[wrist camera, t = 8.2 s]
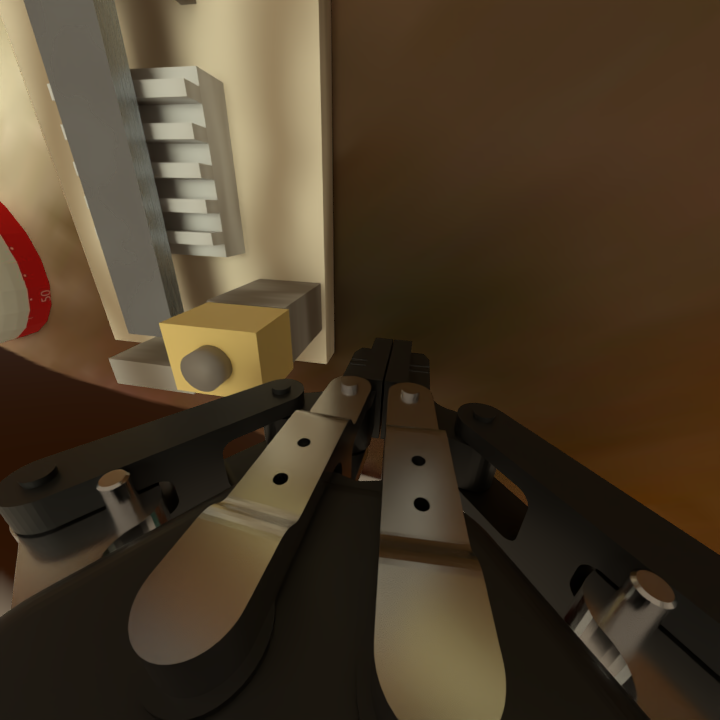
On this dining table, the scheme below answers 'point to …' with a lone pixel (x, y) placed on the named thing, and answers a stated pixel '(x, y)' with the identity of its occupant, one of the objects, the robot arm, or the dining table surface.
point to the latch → (228, 347)
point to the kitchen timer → (20, 282)
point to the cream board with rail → (219, 159)
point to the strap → (109, 153)
